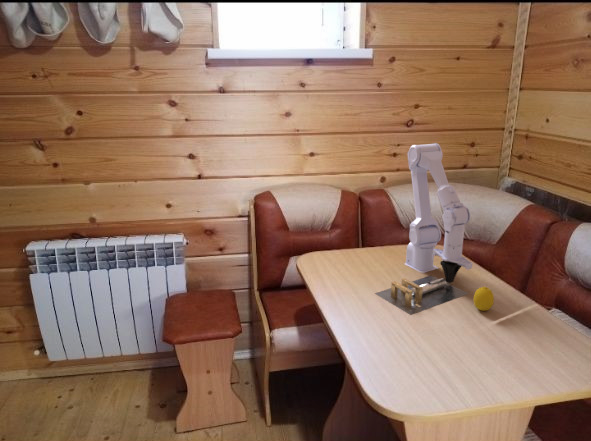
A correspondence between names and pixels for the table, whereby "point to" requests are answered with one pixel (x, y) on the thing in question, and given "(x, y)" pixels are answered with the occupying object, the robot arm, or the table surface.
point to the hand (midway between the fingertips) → (449, 281)
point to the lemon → (483, 298)
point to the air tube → (431, 286)
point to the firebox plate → (419, 295)
